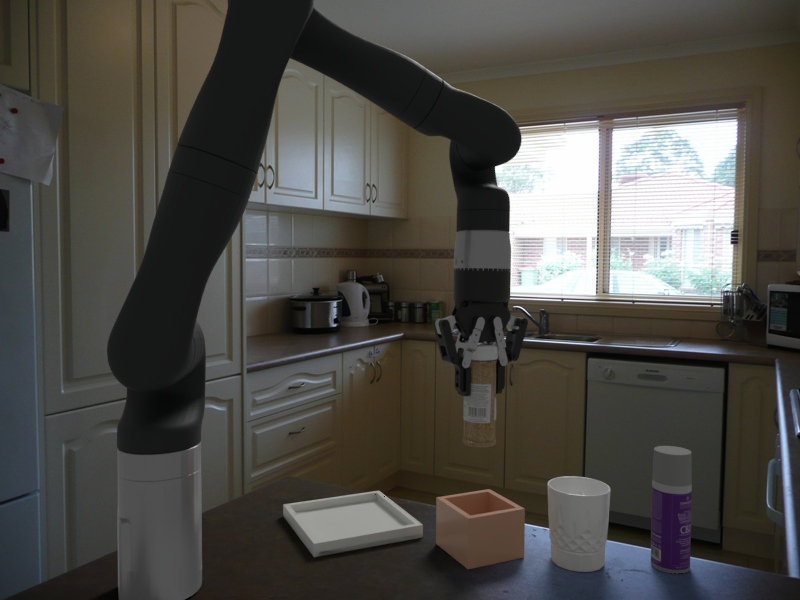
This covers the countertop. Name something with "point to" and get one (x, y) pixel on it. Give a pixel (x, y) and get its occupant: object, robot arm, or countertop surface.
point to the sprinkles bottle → (481, 398)
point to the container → (671, 509)
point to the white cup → (578, 522)
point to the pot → (480, 528)
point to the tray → (350, 523)
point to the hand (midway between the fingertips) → (479, 393)
